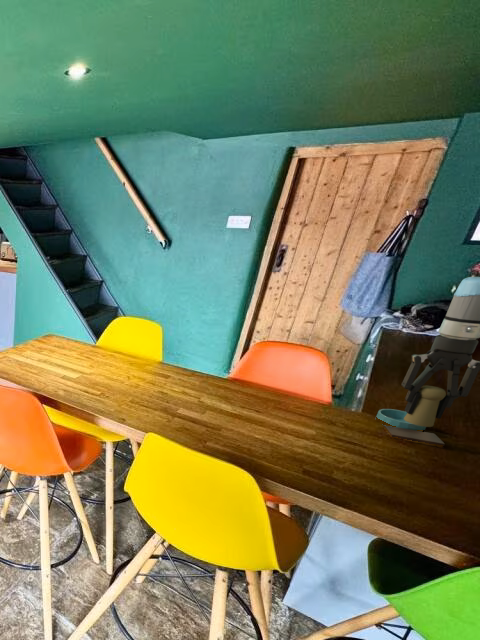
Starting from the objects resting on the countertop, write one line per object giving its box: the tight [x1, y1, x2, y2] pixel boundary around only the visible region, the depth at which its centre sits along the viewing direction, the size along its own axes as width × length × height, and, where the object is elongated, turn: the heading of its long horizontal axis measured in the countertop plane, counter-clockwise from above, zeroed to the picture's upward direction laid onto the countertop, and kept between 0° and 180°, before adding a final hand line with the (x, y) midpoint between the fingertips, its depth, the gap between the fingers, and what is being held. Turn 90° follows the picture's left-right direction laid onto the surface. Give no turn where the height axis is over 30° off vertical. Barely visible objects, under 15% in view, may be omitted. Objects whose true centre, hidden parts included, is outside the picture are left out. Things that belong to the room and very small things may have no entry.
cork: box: [404, 385, 447, 428], centre depth 115 cm, size 6×6×11 cm
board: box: [383, 425, 445, 447], centre depth 119 cm, size 11×7×2 cm, turn 60°
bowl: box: [375, 408, 427, 431], centre depth 127 cm, size 11×11×3 cm
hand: (422, 414), depth 116 cm, fingers closed on cork, 5 cm apart
